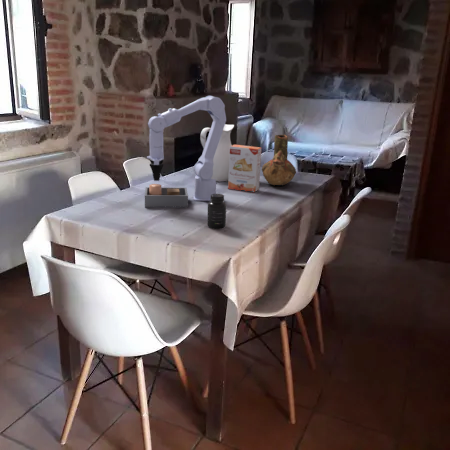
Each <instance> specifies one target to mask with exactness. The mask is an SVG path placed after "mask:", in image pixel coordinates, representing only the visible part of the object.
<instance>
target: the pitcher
mask: <svg viewBox="0 0 450 450" xmlns="http://www.w3.org/2000/svg"><path fill="white" fill-rule="evenodd" d="M234 128H235V124H226V123H225V126H224V128H223V131H222V134H221V137H220V140H219V143H218V146H217V149H216V152H215V155H214V158H213V164H214V166H213V175H212V177H211V179H215V180H216V182H227V181H228V179H229V158H230V146H232V145H233V144H232V141H231V133H232V130H233V129H234ZM210 129H211V127H204V128H203V129H202V130H201V132H200V144H201V146H202V148H203V149H204V147H205V144H206V141H207V137H206V136H207V133H208V132H210Z"/></svg>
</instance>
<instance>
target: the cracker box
mask: <svg viewBox="0 0 450 450" xmlns="http://www.w3.org/2000/svg"><path fill="white" fill-rule="evenodd" d="M261 161H262V147H258V146H253V145H251V146H250V145H243V144H232V146H230V158H229V179H228V180H227V181H228V182H227V183H228V184H227V185H228V187H227V189H228V190H234V189H235V191H241V190H245V191H244V192H247V191H254V192H255V191H257V190H258V191H259V189H260V177H261V163H262V162H261ZM258 191H257V192H258ZM254 192H253V193H254ZM255 193H256V192H255Z"/></svg>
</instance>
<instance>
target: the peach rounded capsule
mask: <svg viewBox="0 0 450 450" xmlns="http://www.w3.org/2000/svg"><path fill="white" fill-rule="evenodd" d="M148 187H149V195H161V187H162V184H159V183H151V184H149V186H148Z"/></svg>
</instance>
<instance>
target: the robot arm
mask: <svg viewBox="0 0 450 450" xmlns="http://www.w3.org/2000/svg"><path fill="white" fill-rule="evenodd" d="M225 107H226V105H225V103H224V102H223V100H222V99H221V97H218V96H213V95H207V96H205V97H200V98H198V99H196V100H195V101H193V102H191V103H188V104H186V105H185V106H182V107H181V108H178V109H177V108H171V107H170V108H167V111H164V112H162V113H157V116H156V115H155V116H151V117H150V118H149V120H148V122H147V125H148V126H147V127H148V128H149V137H148V139H149V140H148V141H149V155H148V156H146V159H148V160H149V162H150V163H149V167H150V169H151V172H152V177H153V181H154V182H157V181H158V182H159V181H160V179H161V173H162V169H163V167H164V159H165V157H164V130H165V128H168V127H170V126H173V125H175V124H176V123H179V122H180V121H181V119H182V118H183V117H185V116H187V115H190V114H192V113H195V112H197V111H206V112H207V113H208V114H209V116H210V117H211V119H212V123H211V127H210V128H211V129H210V132H209V131H208V132H209V133H208V136H207V137H206V144H205V147H204V148H203V150H202V154H201V155H200V157H199V158H198V161H197V162H196V163H195V164H194V166H193V173H194V174H195V177H194V194H192V198H193V201H196V202H197V201H201V202H203V201H205V202H206V201H207V202H210V201H211V200H210V199H211V195H212V194H217V181H216V180H215V179H211V177H212V175H213V166H214V164H213V158H214V155H215V152H216V149H217V146H218V143H219V140H220V137H221V134H222V131H223V128H224V126H225V124H226V122H227V115H226V110H225V109H226V108H225Z"/></svg>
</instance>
